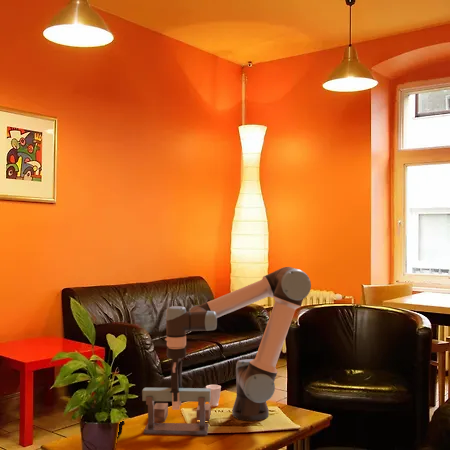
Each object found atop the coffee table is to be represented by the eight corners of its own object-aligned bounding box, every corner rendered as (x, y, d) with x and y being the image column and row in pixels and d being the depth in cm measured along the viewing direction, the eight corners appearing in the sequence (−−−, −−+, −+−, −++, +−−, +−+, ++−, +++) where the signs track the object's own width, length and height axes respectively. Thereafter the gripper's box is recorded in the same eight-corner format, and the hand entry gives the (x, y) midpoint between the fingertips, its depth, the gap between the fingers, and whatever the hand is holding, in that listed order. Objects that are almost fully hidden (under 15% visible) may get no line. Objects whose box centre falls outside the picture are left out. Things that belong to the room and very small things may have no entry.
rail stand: (208, 427, 227) (208, 392, 227) (206, 435, 219) (206, 398, 219) (148, 426, 229) (147, 391, 229) (143, 434, 221) (143, 397, 221)
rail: (210, 398, 225) (210, 388, 225) (209, 401, 221) (209, 391, 221) (144, 397, 227) (144, 387, 227) (142, 400, 223) (142, 390, 223)
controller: (117, 430, 225) (117, 404, 225) (125, 441, 214) (125, 414, 214) (106, 432, 223) (106, 406, 223) (114, 443, 212) (114, 415, 212)
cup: (223, 406, 254) (223, 388, 254) (201, 408, 250) (201, 390, 250) (218, 401, 260) (218, 383, 260) (197, 404, 257) (197, 385, 257)
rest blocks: (210, 415, 241) (210, 403, 241) (208, 422, 233) (208, 410, 233) (156, 414, 243) (156, 402, 243) (152, 421, 235) (152, 409, 235)
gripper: (170, 342, 233) (170, 400, 233) (162, 351, 216) (163, 414, 216) (188, 342, 232) (189, 400, 232) (182, 351, 215) (183, 414, 215)
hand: (176, 407), depth 224 cm, fingers closed on rail, 4 cm apart
